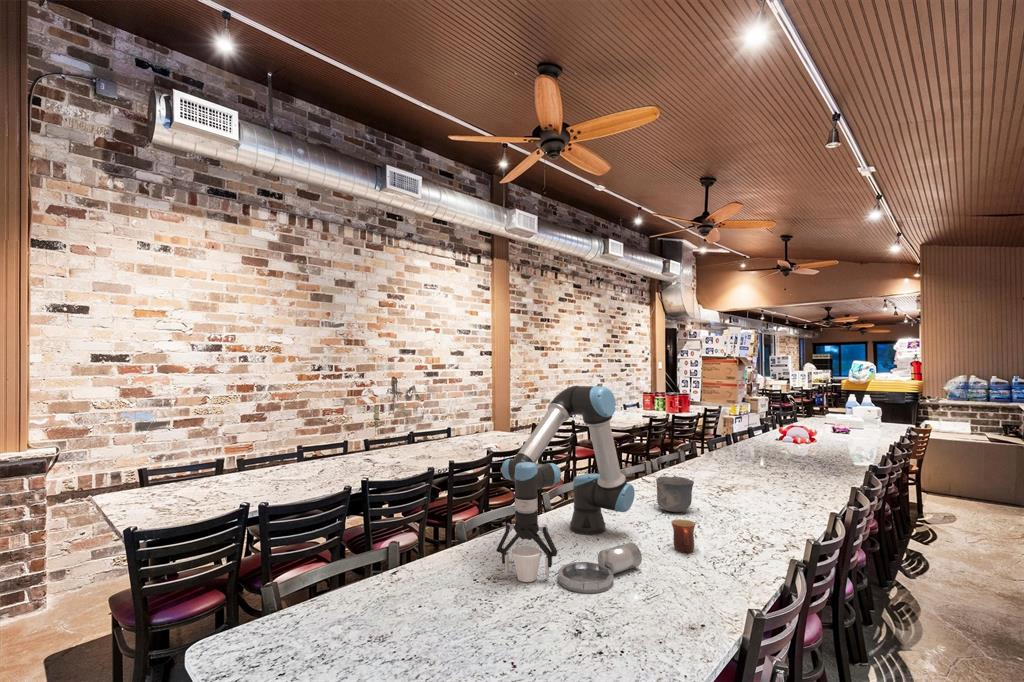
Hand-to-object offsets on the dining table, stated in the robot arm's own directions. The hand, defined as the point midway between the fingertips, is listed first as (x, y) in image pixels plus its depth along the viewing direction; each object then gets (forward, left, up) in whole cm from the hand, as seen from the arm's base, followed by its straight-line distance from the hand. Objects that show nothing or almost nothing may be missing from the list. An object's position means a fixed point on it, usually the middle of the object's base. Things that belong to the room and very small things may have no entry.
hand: (527, 575), depth 166 cm
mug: (+13, +63, -1) cm, 64 cm away
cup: (0, 0, -1) cm, 1 cm away
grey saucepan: (+12, +22, -1) cm, 25 cm away
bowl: (-23, +102, -1) cm, 104 cm away
